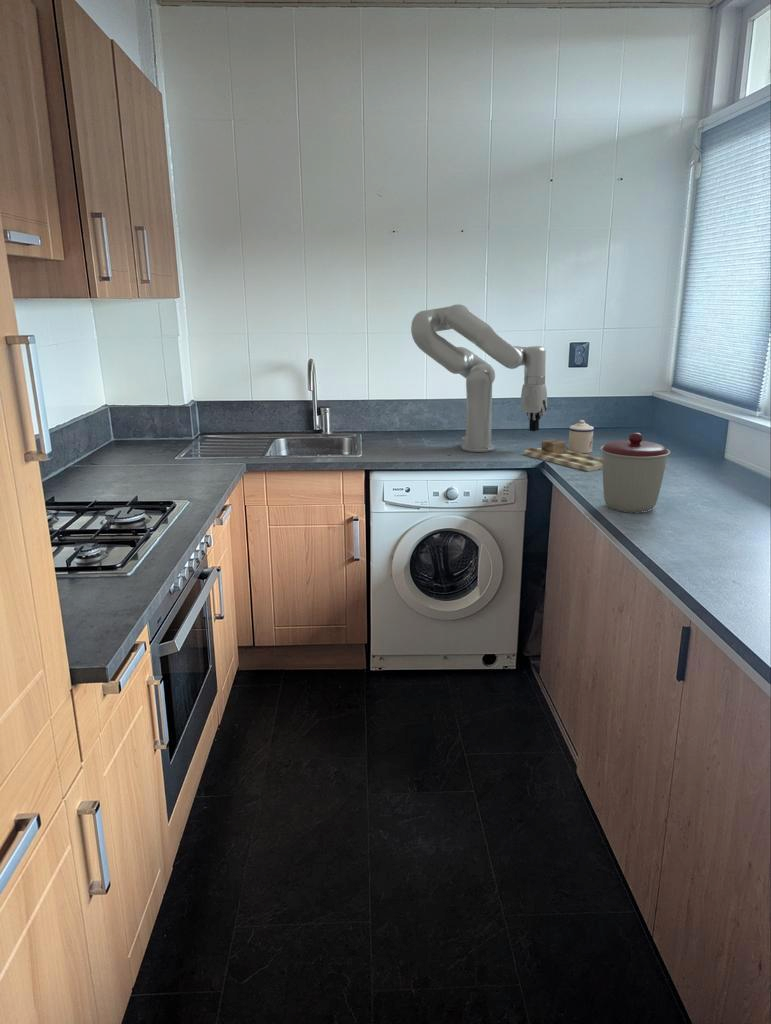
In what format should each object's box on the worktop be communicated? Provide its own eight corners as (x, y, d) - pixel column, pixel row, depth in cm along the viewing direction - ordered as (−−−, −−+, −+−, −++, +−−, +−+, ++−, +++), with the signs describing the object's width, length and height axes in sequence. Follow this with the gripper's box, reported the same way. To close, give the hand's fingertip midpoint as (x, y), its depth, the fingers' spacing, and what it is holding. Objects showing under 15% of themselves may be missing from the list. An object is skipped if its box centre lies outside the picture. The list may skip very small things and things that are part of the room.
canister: (679, 513, 196) (687, 436, 190) (623, 520, 190) (630, 441, 184) (634, 496, 212) (641, 425, 206) (582, 503, 206) (587, 429, 200)
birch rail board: (523, 454, 269) (524, 447, 268) (548, 450, 274) (548, 444, 274) (587, 471, 242) (588, 464, 241) (613, 467, 248) (613, 459, 247)
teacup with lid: (595, 453, 268) (597, 422, 265) (570, 454, 269) (572, 422, 265) (587, 447, 280) (589, 417, 277) (563, 447, 280) (565, 417, 277)
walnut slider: (541, 451, 265) (541, 441, 263) (553, 450, 268) (554, 439, 266) (552, 454, 260) (553, 443, 258) (565, 452, 263) (565, 441, 261)
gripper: (513, 380, 271) (513, 429, 276) (541, 383, 258) (540, 434, 263) (528, 378, 274) (528, 426, 280) (556, 381, 262) (555, 431, 267)
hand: (534, 430), depth 271 cm, fingers closed
